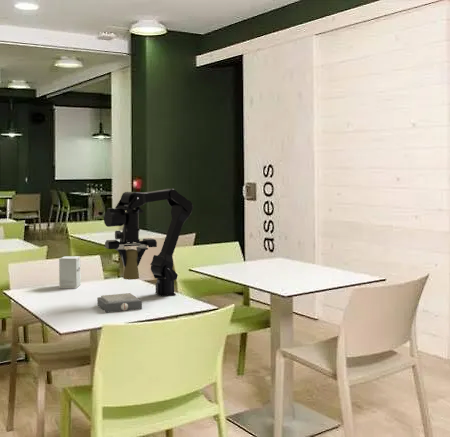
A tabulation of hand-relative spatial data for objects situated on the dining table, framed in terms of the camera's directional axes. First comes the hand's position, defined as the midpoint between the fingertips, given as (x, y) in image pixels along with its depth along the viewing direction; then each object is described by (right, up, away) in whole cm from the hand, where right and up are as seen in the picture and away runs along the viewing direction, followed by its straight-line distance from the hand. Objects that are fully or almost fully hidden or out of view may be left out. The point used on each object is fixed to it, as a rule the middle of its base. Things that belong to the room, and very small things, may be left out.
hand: (131, 266), depth 234 cm
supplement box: (-30, -11, +26) cm, 41 cm away
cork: (0, -5, 0) cm, 5 cm away
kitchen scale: (-3, -14, -10) cm, 18 cm away
